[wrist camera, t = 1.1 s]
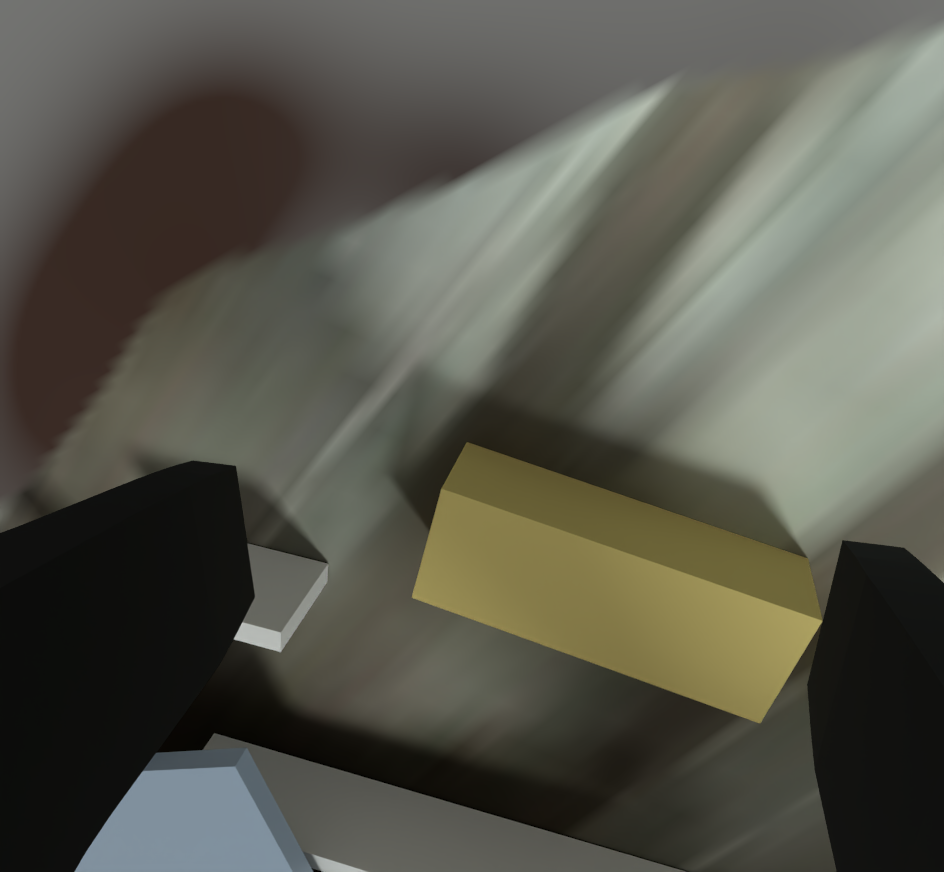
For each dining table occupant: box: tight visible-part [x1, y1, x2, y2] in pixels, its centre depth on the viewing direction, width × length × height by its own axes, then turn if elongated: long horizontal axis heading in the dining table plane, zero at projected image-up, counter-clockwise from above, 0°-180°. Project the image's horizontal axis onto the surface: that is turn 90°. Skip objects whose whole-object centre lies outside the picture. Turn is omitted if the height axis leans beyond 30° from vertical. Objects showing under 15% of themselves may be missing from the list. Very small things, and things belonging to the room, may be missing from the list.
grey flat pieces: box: [203, 543, 686, 872], centre depth 21 cm, size 18×8×3 cm, turn 83°
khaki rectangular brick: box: [412, 442, 823, 723], centre depth 18 cm, size 8×3×2 cm, turn 76°
